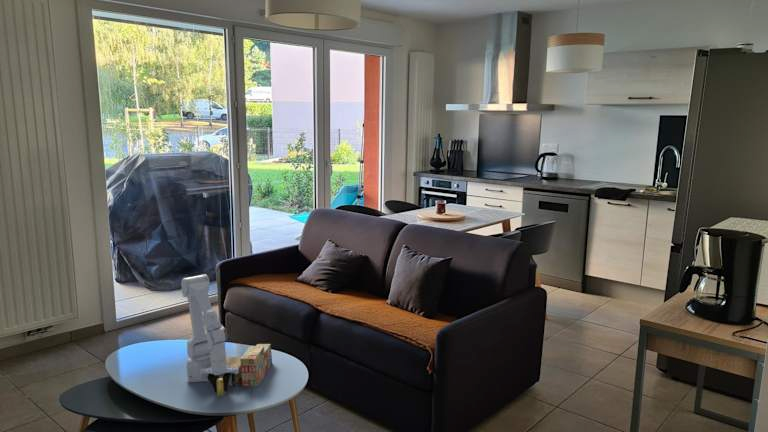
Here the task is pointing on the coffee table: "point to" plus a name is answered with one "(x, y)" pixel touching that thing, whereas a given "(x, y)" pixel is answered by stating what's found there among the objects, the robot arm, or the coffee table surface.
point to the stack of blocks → (255, 364)
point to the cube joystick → (221, 384)
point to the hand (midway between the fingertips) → (221, 390)
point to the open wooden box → (234, 363)
